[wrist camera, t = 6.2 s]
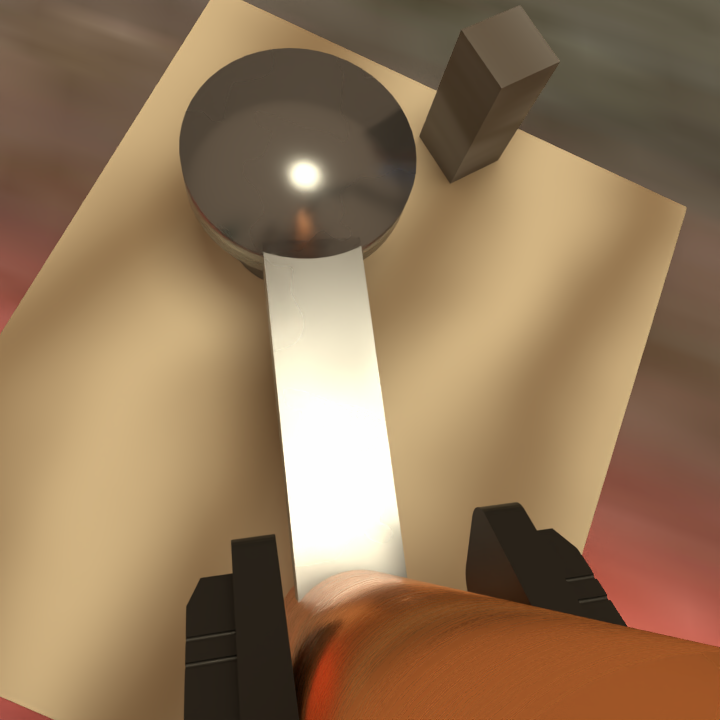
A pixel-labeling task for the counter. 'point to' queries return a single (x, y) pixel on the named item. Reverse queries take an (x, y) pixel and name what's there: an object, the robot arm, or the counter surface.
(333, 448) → the lever
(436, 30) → the counter surface
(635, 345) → the hub board
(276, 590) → the robot arm
